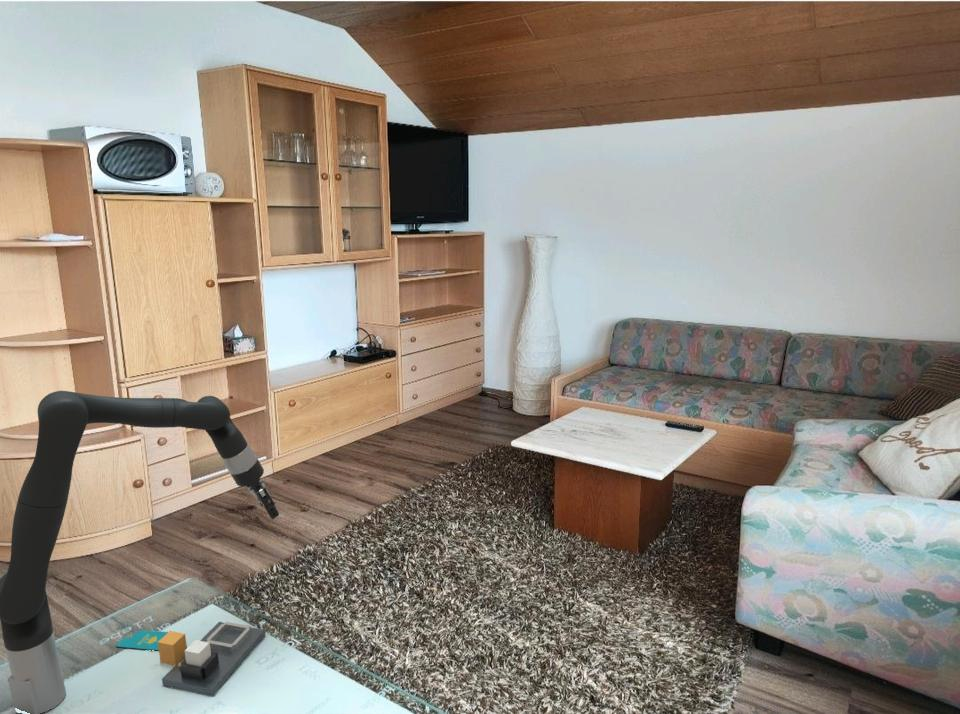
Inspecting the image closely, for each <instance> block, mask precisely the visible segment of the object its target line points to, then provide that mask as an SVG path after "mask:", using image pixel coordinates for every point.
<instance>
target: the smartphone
mask: <svg viewBox="0 0 960 714" xmlns="http://www.w3.org/2000/svg"><path fill="white" fill-rule="evenodd" d="M138 630H139V632H135V634H133V635H132V638H131V637H129V639H127V638H126V637H125V636H124V637H123V638H121V640H120V641H119V642H118V643H117V644H116V645H115V648H116V649H127V650H133V651H134V650H136V651H145V650H151V651H150V652H153V651H152V650H154V651H159V648H158V642H159V641H160V640H161V639H162V638H163V637H164V636H165V635H166V634H167V633H168V632H169V631H159V630H149V629H148V630H146V629H138Z"/></svg>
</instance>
